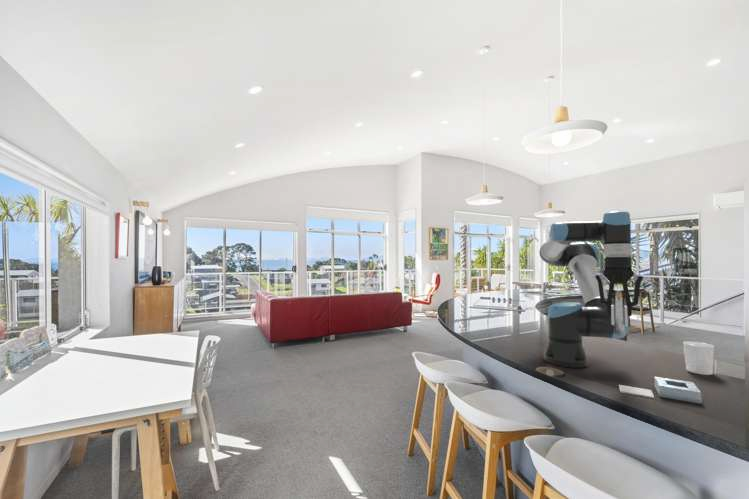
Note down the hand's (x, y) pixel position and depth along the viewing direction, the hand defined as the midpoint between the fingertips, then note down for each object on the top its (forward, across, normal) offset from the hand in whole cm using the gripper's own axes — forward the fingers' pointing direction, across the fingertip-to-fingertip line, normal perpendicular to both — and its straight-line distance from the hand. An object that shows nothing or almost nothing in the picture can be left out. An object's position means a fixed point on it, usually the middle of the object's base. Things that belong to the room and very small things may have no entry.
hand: (619, 324), depth 112 cm
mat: (+18, +3, -11) cm, 22 cm away
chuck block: (+18, +13, -7) cm, 24 cm away
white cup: (+19, +24, +24) cm, 39 cm away
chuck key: (+3, 0, 0) cm, 3 cm away
